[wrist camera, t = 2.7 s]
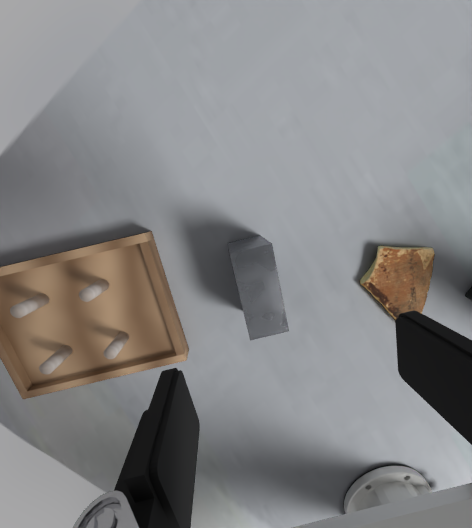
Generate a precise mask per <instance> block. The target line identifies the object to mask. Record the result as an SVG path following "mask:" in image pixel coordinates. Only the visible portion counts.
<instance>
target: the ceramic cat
mask: <svg viewBox="0 0 472 528" xmlns="http://www.w3.org/2000/svg"><path fill="white" fill-rule="evenodd" d="M466 297H468V298H470V299H471V300H472V287H471V289H470V290H469V291H468V293H467V294H466Z"/></svg>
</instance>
